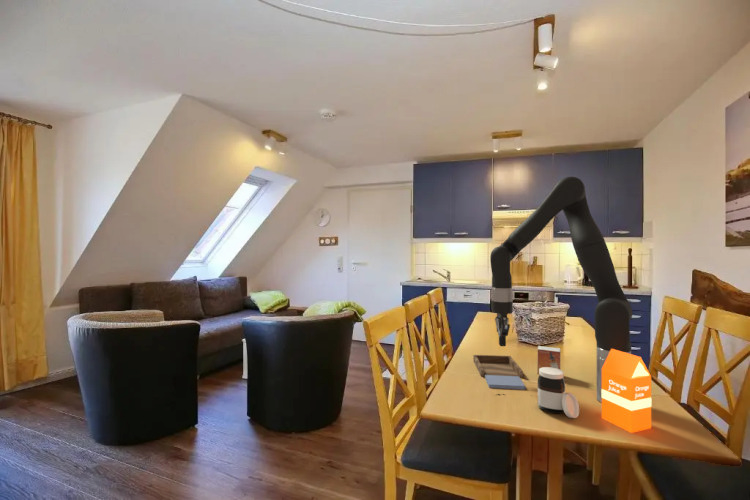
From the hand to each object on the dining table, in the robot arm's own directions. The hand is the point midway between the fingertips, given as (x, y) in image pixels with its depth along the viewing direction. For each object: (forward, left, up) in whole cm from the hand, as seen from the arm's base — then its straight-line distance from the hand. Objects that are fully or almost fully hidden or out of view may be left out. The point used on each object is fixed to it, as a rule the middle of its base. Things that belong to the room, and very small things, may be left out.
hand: (502, 345), depth 132 cm
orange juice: (-29, -27, -13) cm, 42 cm away
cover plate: (-6, +1, -13) cm, 15 cm away
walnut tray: (+10, 0, -13) cm, 16 cm away
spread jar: (-23, -11, -13) cm, 29 cm away
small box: (+7, -19, -13) cm, 24 cm away
